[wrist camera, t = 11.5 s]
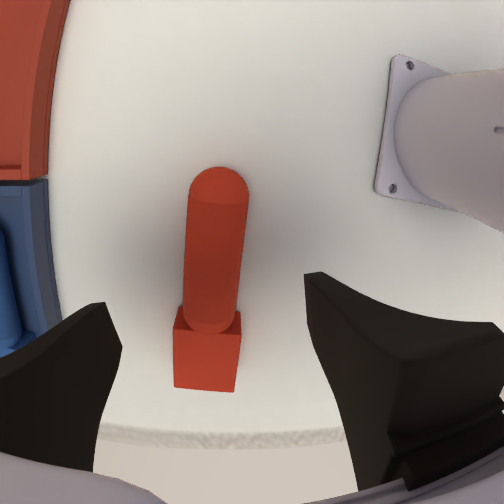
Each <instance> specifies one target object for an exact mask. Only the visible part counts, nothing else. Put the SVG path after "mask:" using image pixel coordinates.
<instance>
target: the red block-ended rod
mask: <svg viewBox="0 0 504 504" xmlns="http://www.w3.org/2000/svg"><path fill="white" fill-rule="evenodd" d="M248 202H249V192H248V188H247V185H246V183H245V181H244V180H243V178H242V177H241V176H240V175H239V174H238V173H236V172H235V171H233V170H231V169H228V168H225V167H213V168H209V169H207V170H204V171H203V172H201V173H200V174H199V175H198V176H197V177H196V178H195V179H194V181H193V182H192V184H191V186H190V189H189V195H188V207H187V221H186V237H185V256H184V279H183V307H182V306H179V308H178V311H177V315H176V319H175V323H174V326H173V374H174V387H176V388H185V389H195V390H206V391H218V392H232V393H233V392H234V388H235V381H236V373H237V366H238V358H239V351H240V343H241V315H240V312H236V311H235V310H236V301H237V293H238V284H239V276H240V267H241V259H242V251H243V243H244V234H245V226H246V218H247V210H248Z"/></svg>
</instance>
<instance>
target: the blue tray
mask: <svg viewBox="0 0 504 504" xmlns="http://www.w3.org/2000/svg"><path fill="white" fill-rule="evenodd" d="M0 229H1V230H2V232H3V234H4V237H5V243H6V250H7V257H8V264H9V269H10V275H11V280H12V286H13V291H14V295H15V300H16V304H17V309H18V313H19V317H20V321H21V325H22V329H24V330H28V331H32V332H35V335H36V338H38V337H39V336H41V335H42V334H44V333H45V332H47V331H48V330H50V329H51V328H53V327H54V326H56V325H57V324H59V323H60V322H62V318H61V313H60V308H59V302H58V296H57V289H56V283H55V276H54V268H53V259H52V250H51V239H50V226H49V209H48V180H46V179H31V180H0Z"/></svg>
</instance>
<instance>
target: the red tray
mask: <svg viewBox="0 0 504 504" xmlns="http://www.w3.org/2000/svg"><path fill="white" fill-rule="evenodd" d="M69 2H70V0H0V180H31V179H34V178H37V177H40V176H43V175H46V174H48V141H49V124H50V111H51V101H52V92H53V84H54V76H55V70H56V63H57V57H58V52H59V46H60V41H61V36H62V31H63V27H64V22H65V18H66V14H67V10H68V6H69Z"/></svg>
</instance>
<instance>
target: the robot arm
mask: <svg viewBox="0 0 504 504" xmlns="http://www.w3.org/2000/svg"><path fill="white" fill-rule="evenodd" d="M406 63H409V64H410V66H411V69H410V70H409V69H408V68H407V67H406ZM391 184H393V185H394V189H393V191H392V192H390V191H389V187H390V185H391ZM375 191H376V192H377V193H378V194H380V195H382V196H386V197H391V198H396V199H401V200H406V201H411V202H416V203H421V204H426V205H430V206H435V207H440V208H444V209H449V210H453V211H457V212H462V213H464V214H466V215H469V216H471V217H473V218H475V219H477V220H479V221H481V222H483V223H485V224H487V225H489V226H491V227H493V228H495V229H497V230H499V231H500V232H502V233H504V69H497V70H486V71H477V72H469V73H461V74H454V75H451V74H448V73H446V72H444V71H442V70H439V69H437V68H435V67H432V66H430V65H428V64H425V63H423V62H420V61H418V60H415V59H413V58H410V57H407V56H405V55H401V54H399V55H396V56H394V57H393V58H392V61H391V72H390V82H389V91H388V100H387V108H386V116H385V124H384V131H383V137H382V144H381V150H380V156H379V162H378V168H377V174H376V179H375ZM304 284H305V298H306V313H307V325H308V329H309V332H310V336H311V340H312V343H313V347H314V349H315V352H316V354H317V356H318V359H319V361H320V363H321V366H322V368H323V370H324V373H325V375H326V377H327V380H328V382H329V384H330V387H331V389H332V391H333V394H334V396H335V399H336V402H337V405H338V409H339V412H340V416H341V419H342V423H343V426H344V430H345V434H346V438H347V442H348V446H349V450H350V454H351V459H352V463H353V467H354V472H355V477H356V482H357V487H358V492H355V493H351V494H347V495H343V496H338V497H335V498H330V499H325V500H320V501H315V502H310V503H304V504H504V414H503V413H502V410H504V402H503V400H502V399H501V398H500V397H499V395H500V393H501V390H502V388H503V386H504V333H503V332H502V331H501V330H500V329H499V328H498V327H497V326H496V325H495V324H494V323H493V322H464V321H454V320H446V319H439V318H433V317H427V316H423V315H419V314H415V313H411V312H407V311H404V310H400V309H398V308H395V307H392V306H389V305H386V304H383V303H381V302H379V301H376V300H374V299H372V298H370V297H368V296H365V295H363V294H361V293H359V292H357V291H355V290H354V289H352V288H350V287H348V286H346V285H345V284H343V283H341V282H339V281H338V280H336V279H334V278H332V277H331V276H329V275H327V274H325V273H323V272H315V273H309V274H304ZM121 352H122V344H121V342H120V339H119V337H118V334H117V332H116V330H115V327H114V324H113V322H112V319H111V317H110V314H109V311H108V309H107V306H106V303H105V302H100V303H91V304H89V305H87V306H85V307H83V308H81V309H80V310H78V311H76V312H75V313H73V314H72V315H70V316H69V317H67V318H66V319H64V320H63V321H62V322H60V323H59V324H57V325H56V326H54V327H53V328H51V329H50V330H48V331H47V332H45V333H44V334H42V335H41V336H39V337H38V338H36V339H35V340H33V341H31V342H30V343H28V344H26V345H25V346H23V347H21V348H19V349H17V350H16V351H14V352H12V353H10V354H8V355H6V356H3V357H1V358H0V504H167V503H166V502H164V501H163V500H162V499H160V498H158V497H157V496H156V495H154V494H153V493H151V492H150V491H148V490H145V489H143V488H140V487H138V486H135V485H133V484H130V483H128V482H125V481H123V480H120V479H117V478H112V477H109V476H104V475H100V474H96V473H93V462H94V453H95V445H96V440H97V434H98V429H99V424H100V420H101V416H102V413H103V410H104V407H105V404H106V402H107V399H108V396H109V393H110V390H111V388H112V385H113V382H114V379H115V376H116V373H117V370H118V367H119V362H120V358H121Z"/></svg>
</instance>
